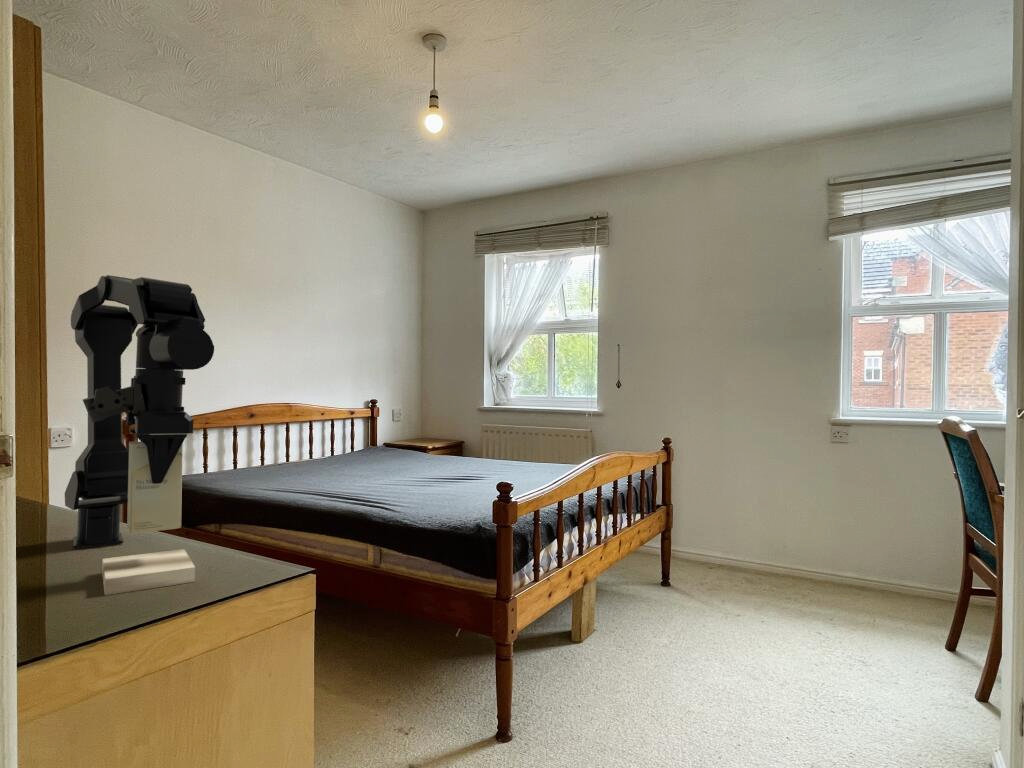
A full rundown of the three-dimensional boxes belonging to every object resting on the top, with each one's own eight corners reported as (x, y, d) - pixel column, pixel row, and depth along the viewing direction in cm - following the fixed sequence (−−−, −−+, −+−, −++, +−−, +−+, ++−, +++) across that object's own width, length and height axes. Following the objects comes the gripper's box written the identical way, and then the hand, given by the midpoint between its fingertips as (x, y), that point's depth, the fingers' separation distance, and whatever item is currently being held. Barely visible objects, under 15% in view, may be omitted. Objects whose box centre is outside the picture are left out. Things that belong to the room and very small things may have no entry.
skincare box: (129, 535, 77) (130, 444, 76) (126, 528, 80) (127, 441, 80) (183, 528, 80) (183, 441, 80) (178, 521, 84) (178, 438, 84)
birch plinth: (101, 573, 80) (102, 558, 80) (183, 562, 86) (184, 549, 86) (104, 595, 72) (105, 579, 72) (194, 581, 78) (195, 567, 78)
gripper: (86, 367, 83) (81, 475, 83) (90, 365, 68) (84, 496, 68) (175, 371, 90) (170, 471, 89) (196, 370, 75) (191, 489, 75)
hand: (154, 480), depth 80 cm, fingers closed on skincare box, 4 cm apart
